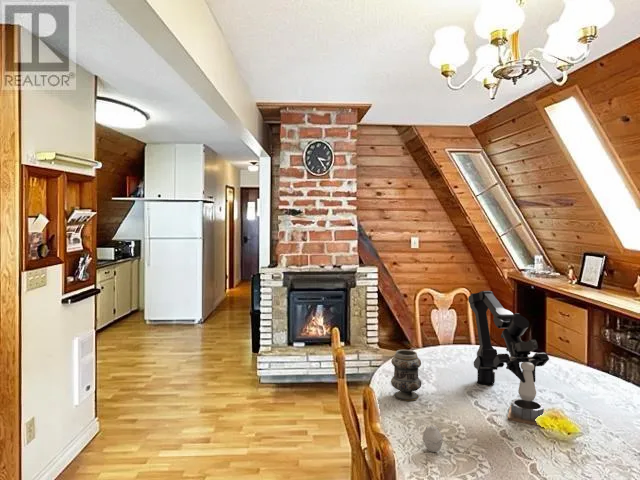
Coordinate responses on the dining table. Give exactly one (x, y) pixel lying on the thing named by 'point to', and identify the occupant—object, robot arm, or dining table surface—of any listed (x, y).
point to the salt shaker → (527, 382)
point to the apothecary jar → (406, 375)
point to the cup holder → (525, 411)
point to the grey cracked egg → (432, 439)
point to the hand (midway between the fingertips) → (529, 382)
